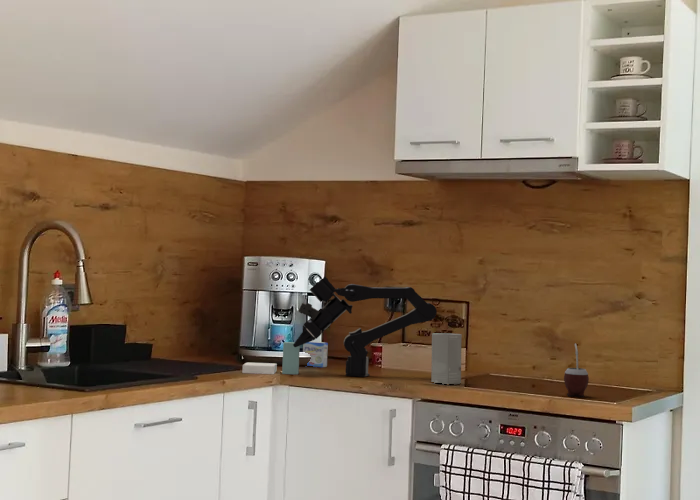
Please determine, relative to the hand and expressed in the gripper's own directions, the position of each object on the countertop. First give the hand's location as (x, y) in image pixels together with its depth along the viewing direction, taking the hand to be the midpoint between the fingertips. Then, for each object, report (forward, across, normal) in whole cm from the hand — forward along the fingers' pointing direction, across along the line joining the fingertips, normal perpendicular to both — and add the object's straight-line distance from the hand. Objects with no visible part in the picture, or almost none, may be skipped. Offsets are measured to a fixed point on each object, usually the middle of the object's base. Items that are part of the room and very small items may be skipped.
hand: (295, 345), depth 320 cm
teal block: (+7, 0, +6) cm, 9 cm away
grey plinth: (+14, 0, -1) cm, 14 cm away
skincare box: (-28, +12, +41) cm, 51 cm away
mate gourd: (-54, +31, +66) cm, 91 cm away
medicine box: (+3, -27, +10) cm, 29 cm away
